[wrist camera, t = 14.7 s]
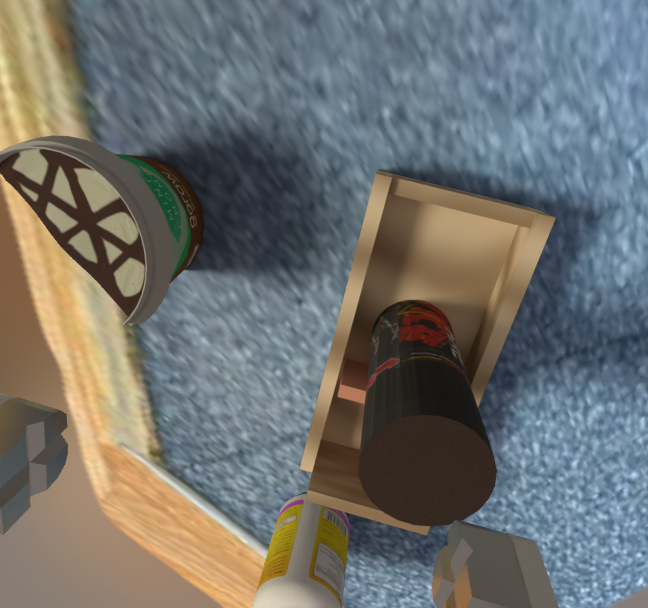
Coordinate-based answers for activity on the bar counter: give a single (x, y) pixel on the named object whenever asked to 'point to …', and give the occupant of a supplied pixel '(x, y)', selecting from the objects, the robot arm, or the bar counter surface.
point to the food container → (111, 215)
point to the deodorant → (422, 422)
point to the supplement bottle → (305, 558)
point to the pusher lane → (426, 285)
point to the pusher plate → (354, 381)
